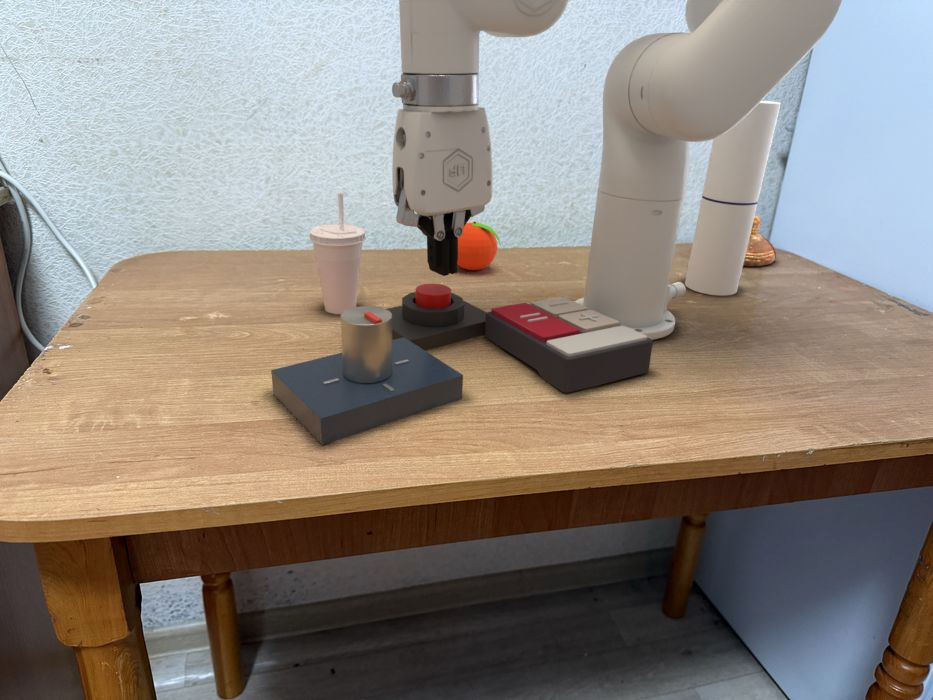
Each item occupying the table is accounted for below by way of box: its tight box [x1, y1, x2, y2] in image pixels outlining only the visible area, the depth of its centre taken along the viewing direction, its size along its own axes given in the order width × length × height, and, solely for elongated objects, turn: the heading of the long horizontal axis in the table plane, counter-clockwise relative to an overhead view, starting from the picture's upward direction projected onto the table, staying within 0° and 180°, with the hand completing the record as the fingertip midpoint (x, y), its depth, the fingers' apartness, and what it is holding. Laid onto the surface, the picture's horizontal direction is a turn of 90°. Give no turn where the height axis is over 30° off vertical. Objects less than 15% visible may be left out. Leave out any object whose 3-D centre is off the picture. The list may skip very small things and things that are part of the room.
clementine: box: [457, 221, 502, 272], centre depth 93 cm, size 8×7×7 cm
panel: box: [270, 337, 464, 446], centre depth 58 cm, size 14×10×3 cm
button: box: [414, 283, 452, 308], centre depth 72 cm, size 4×4×2 cm
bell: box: [743, 215, 777, 267], centre depth 106 cm, size 12×12×7 cm
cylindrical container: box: [684, 100, 782, 297], centre depth 87 cm, size 7×7×25 cm
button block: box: [385, 291, 488, 351], centre depth 73 cm, size 12×9×4 cm
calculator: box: [484, 296, 654, 394], centre depth 68 cm, size 11×4×15 cm
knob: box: [340, 305, 392, 383], centre depth 57 cm, size 4×4×6 cm
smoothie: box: [308, 192, 366, 315], centre depth 75 cm, size 6×6×14 cm
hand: (442, 271), depth 71 cm, fingers closed
